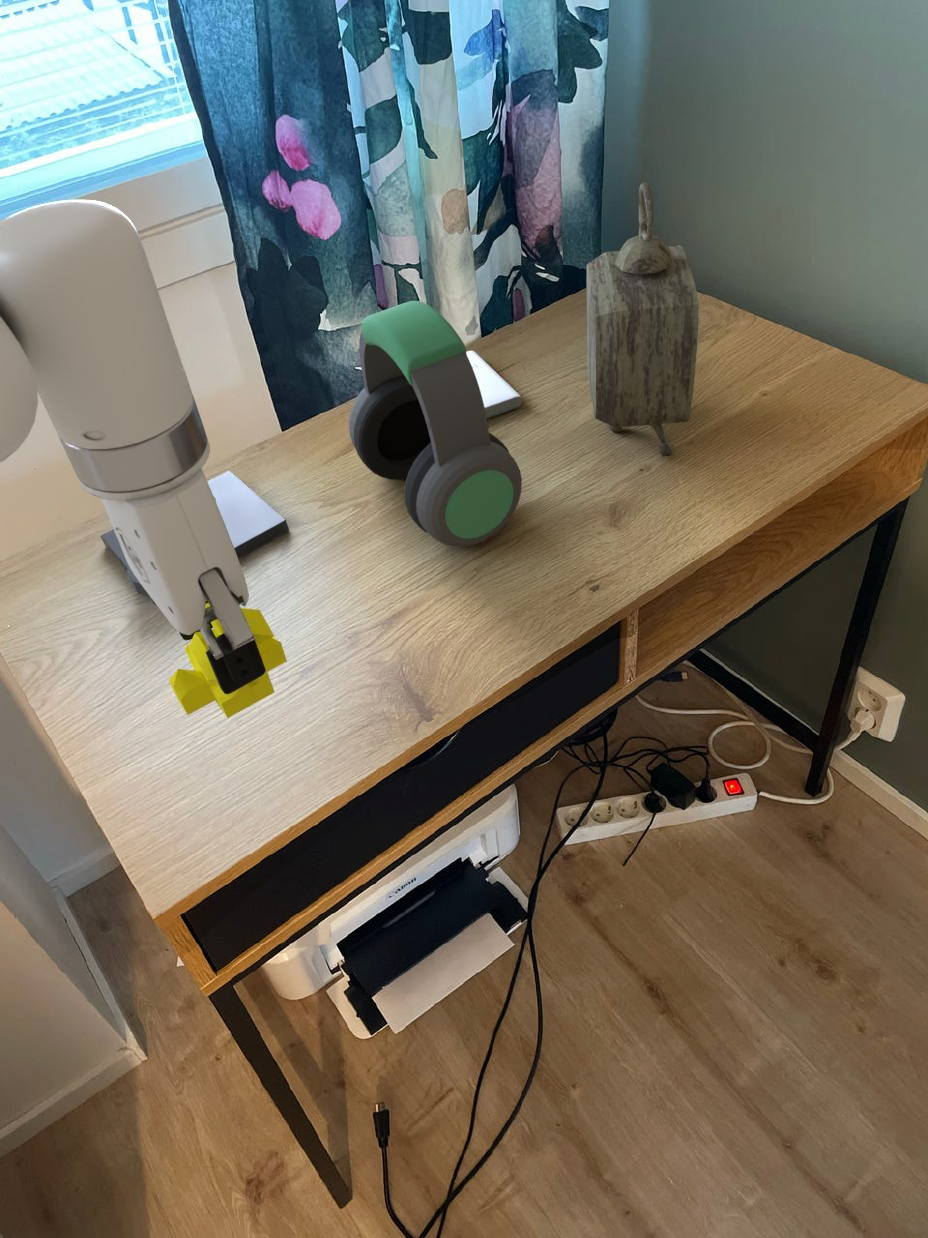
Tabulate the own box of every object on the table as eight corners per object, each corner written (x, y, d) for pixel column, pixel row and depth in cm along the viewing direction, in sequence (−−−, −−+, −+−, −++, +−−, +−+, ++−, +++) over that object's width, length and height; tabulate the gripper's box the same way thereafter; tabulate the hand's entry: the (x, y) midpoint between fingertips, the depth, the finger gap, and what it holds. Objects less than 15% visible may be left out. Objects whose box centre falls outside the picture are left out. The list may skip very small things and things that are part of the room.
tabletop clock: (686, 465, 91) (709, 215, 73) (596, 472, 92) (597, 226, 74) (667, 388, 101) (682, 152, 83) (586, 394, 102) (584, 162, 84)
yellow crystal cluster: (167, 684, 66) (131, 609, 60) (264, 633, 69) (238, 557, 63) (199, 733, 62) (164, 658, 57) (300, 677, 65) (276, 601, 60)
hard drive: (456, 430, 100) (413, 380, 108) (522, 407, 101) (475, 359, 110) (455, 418, 98) (411, 368, 107) (521, 394, 100) (473, 347, 108)
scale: (153, 615, 84) (141, 593, 81) (98, 549, 91) (86, 527, 89) (295, 536, 90) (288, 512, 87) (233, 480, 97) (224, 457, 95)
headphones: (352, 474, 96) (309, 296, 82) (441, 437, 99) (415, 260, 85) (434, 573, 84) (401, 385, 69) (534, 528, 87) (521, 338, 72)
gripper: (25, 406, 55) (128, 616, 67) (132, 541, 44) (229, 759, 57) (140, 361, 57) (218, 570, 70) (266, 479, 47) (330, 699, 60)
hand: (222, 653), depth 63 cm, fingers closed on yellow crystal cluster, 5 cm apart
